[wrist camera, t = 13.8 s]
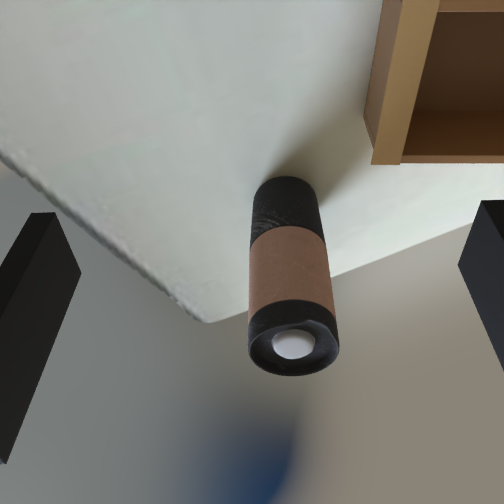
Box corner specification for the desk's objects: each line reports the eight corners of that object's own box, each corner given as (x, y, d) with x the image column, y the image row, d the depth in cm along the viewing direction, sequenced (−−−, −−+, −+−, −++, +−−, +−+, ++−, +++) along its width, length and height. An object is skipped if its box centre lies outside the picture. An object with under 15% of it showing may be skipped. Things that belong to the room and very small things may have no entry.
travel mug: (262, 234, 55) (262, 383, 41) (241, 183, 50) (233, 333, 36) (325, 219, 53) (348, 369, 39) (310, 165, 48) (331, 315, 34)
